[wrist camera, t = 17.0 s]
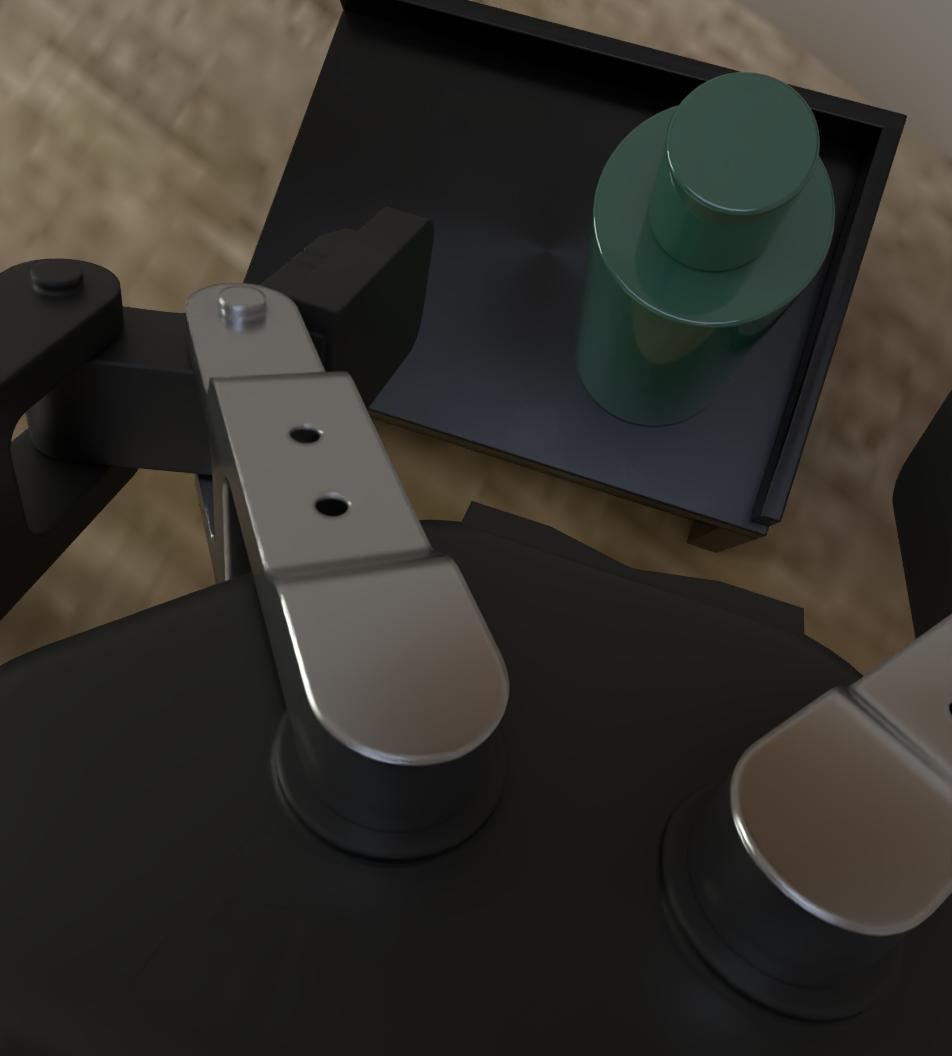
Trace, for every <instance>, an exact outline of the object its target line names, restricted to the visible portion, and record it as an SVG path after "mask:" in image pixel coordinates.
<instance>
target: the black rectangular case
mask: <svg viewBox="0 0 952 1056" xmlns="http://www.w3.org/2000/svg"><path fill="white" fill-rule="evenodd" d="M340 2H341V5H342V8H343V12H342V15H341V18H340V20H339V23H338V26H337V28H336V31H335V34H334V37H333V39H332V42H331V45H330V48H329V50H328V53H327V56H326V58H325V61H324V64H323V67H322V69H321V72H320V75H319V78H318V80H317V83H316V86H315V88H314V91H313V94H312V97H311V99H310V102H309V105H308V107H307V110H306V113H305V116H304V118H303V121H302V124H301V127H300V129H299V132H298V135H297V137H296V140H295V143H294V146H293V148H292V151H291V154H290V157H289V159H288V162H287V165H286V167H285V170H284V173H283V176H282V178H281V181H280V184H279V186H278V189H277V192H276V195H275V197H274V200H273V203H272V206H271V208H270V211H269V214H268V216H267V219H266V222H265V225H264V227H263V230H262V233H261V236H260V238H259V241H258V244H257V246H256V249H255V252H254V255H253V257H252V260H251V263H250V265H249V268H248V271H247V274H246V276H245V279H244V282H243V283H246V284H254V285H260V284H261V283H263V282H264V281H265V280H266V279H268V278H269V277H270V276H271V275H272V274H274V273H275V272H276V271H277V270H279V269H280V268H281V267H282V266H283V265H285V264H286V263H287V262H291V259H292V258H293V257H294V256H296V255H297V254H298V253H299V252H301V251H302V252H303V251H304V248H305V247H307V246H308V245H309V244H310V243H312V242H313V241H314V240H315V239H316V238H318V237H319V236H320V235H324V234H327V233H331V232H334V231H338V230H341V229H345V228H348V229H352V230H355V231H358V230H359V229H360V228H361V227H363V226H364V225H365V224H366V223H367V222H368V221H369V220H371V219H372V218H373V217H374V216H375V215H376V214H377V213H378V212H380V211H381V210H382V209H383V208H385V207H390V208H393V209H397V210H400V211H404V212H407V213H411V214H414V215H417V216H421V217H424V218H428V219H431V220H432V221H433V223H434V241H433V248H432V254H431V261H430V268H429V275H428V282H427V289H426V295H425V302H424V309H423V316H422V321H421V325H420V329H419V332H418V336H417V338H416V341H415V344H414V346H413V348H412V350H411V352H410V353H409V355H408V356H407V357H406V359H405V360H404V361H403V363H402V364H401V365H400V367H399V368H398V369H397V371H396V372H395V373H394V375H393V376H392V377H391V379H390V380H389V381H388V383H387V384H386V385H385V387H384V388H383V389H382V391H381V392H380V393H379V395H378V396H377V397H376V399H375V400H374V401H373V403H372V404H371V405H370V406H369V408H368V409H367V411H368V413H369V415H370V417H371V418H374V419H377V420H380V421H383V422H386V423H389V424H392V425H396V426H399V427H402V428H405V429H408V430H411V431H414V432H417V433H421V434H424V435H427V436H430V437H433V438H436V439H439V440H442V441H446V442H449V443H452V444H455V445H458V446H461V447H464V448H467V449H470V450H474V451H477V452H480V453H483V454H486V455H489V456H492V457H495V458H499V459H502V460H505V461H508V462H511V463H514V464H517V465H520V466H524V467H527V468H530V469H533V470H536V471H539V472H542V473H545V474H549V475H552V476H555V477H558V478H561V479H564V480H567V481H570V482H573V483H577V484H580V485H583V486H586V487H589V488H592V489H595V490H598V491H602V492H605V493H608V494H611V495H614V496H617V497H620V498H623V499H627V500H630V501H633V502H636V503H639V504H642V505H645V506H648V507H652V508H655V509H658V510H661V511H664V512H667V513H670V514H673V515H677V516H680V517H683V518H686V519H689V520H692V521H694V522H693V525H692V528H691V531H690V534H689V537H688V541H687V543H688V544H691V545H694V546H697V547H700V548H704V549H707V550H710V551H713V552H716V553H717V552H720V551H723V550H726V549H729V548H732V547H735V546H738V545H741V544H744V543H747V542H750V541H753V540H756V539H758V538H761V537H764V536H766V535H767V532H768V528H769V526H771V525H773V524H776V523H779V522H780V521H781V519H782V516H783V513H784V510H785V506H786V503H787V500H788V497H789V493H790V490H791V487H792V484H793V481H794V477H795V474H796V471H797V468H798V465H799V461H800V458H801V455H802V452H803V449H804V445H805V442H806V439H807V436H808V432H809V429H810V426H811V423H812V420H813V416H814V413H815V410H816V407H817V404H818V400H819V397H820V394H821V391H822V388H823V384H824V381H825V378H826V375H827V371H828V368H829V365H830V362H831V359H832V355H833V352H834V349H835V346H836V343H837V339H838V336H839V333H840V330H841V327H842V323H843V320H844V317H845V314H846V311H847V307H848V304H849V301H850V298H851V294H852V291H853V288H854V285H855V282H856V278H857V275H858V272H859V269H860V266H861V262H862V259H863V256H864V253H865V250H866V246H867V243H868V240H869V237H870V233H871V230H872V227H873V224H874V221H875V217H876V214H877V211H878V208H879V205H880V201H881V198H882V195H883V192H884V189H885V185H886V182H887V179H888V176H889V172H890V169H891V166H892V163H893V160H894V156H895V153H896V150H897V147H898V144H899V140H900V137H901V134H902V131H903V128H904V125H905V122H906V118H907V116H906V115H904V114H900V113H896V112H892V111H888V110H885V109H881V108H877V107H873V106H869V105H865V104H862V103H858V102H854V101H850V100H846V99H843V98H839V97H835V96H831V95H827V94H824V93H820V92H816V91H812V90H808V89H804V88H801V87H797V86H793V85H789V84H787V85H789V86H790V87H792V88H793V89H794V90H795V91H796V92H798V93H799V94H800V96H801V97H802V98H803V99H804V100H805V101H806V103H807V104H808V106H809V107H810V109H811V111H812V113H813V115H814V117H815V120H816V123H817V126H818V131H819V138H820V149H819V157H820V158H821V160H822V162H823V164H824V166H825V168H826V170H827V173H828V176H829V179H830V182H831V185H832V191H833V196H834V203H835V222H834V232H833V236H832V240H831V244H830V247H829V250H828V252H827V255H826V257H825V260H824V262H823V264H822V265H821V267H820V269H819V271H818V272H817V274H816V275H815V277H814V278H813V279H812V281H811V282H810V283H809V285H808V286H807V287H806V288H805V290H804V291H803V292H802V293H801V294H800V296H799V297H798V298H797V299H796V301H795V302H794V303H793V304H792V305H791V307H790V308H789V309H788V310H787V312H786V313H785V314H784V315H783V316H782V318H781V319H780V320H779V321H778V322H777V324H776V325H775V326H774V327H773V329H772V330H771V331H770V332H769V333H768V335H767V336H766V337H765V338H764V340H763V341H762V342H761V343H760V344H759V346H758V347H757V348H756V349H755V350H754V352H753V353H752V354H751V355H750V357H749V358H748V359H747V360H746V361H745V363H744V364H743V365H742V366H741V368H740V369H739V370H738V371H737V372H736V374H735V375H734V376H733V377H732V378H731V380H730V381H729V382H728V383H727V385H726V386H725V387H724V388H723V389H722V391H721V392H720V393H719V394H718V396H717V397H716V398H715V399H714V400H713V401H712V402H711V403H710V404H709V405H708V406H707V407H706V408H704V409H703V410H702V411H700V412H699V413H697V414H695V415H694V416H692V417H690V418H688V419H685V420H683V421H681V422H677V423H673V424H669V425H662V426H647V425H639V424H635V423H630V422H627V421H625V420H622V419H620V418H618V417H616V416H614V415H612V414H610V413H609V412H608V411H606V410H605V409H603V408H602V407H601V406H600V405H599V404H598V403H597V402H596V401H595V400H594V399H593V398H592V397H591V395H590V394H589V393H588V391H587V390H586V388H585V386H584V385H583V383H582V380H581V378H580V376H579V373H578V370H577V366H576V360H575V339H576V331H577V324H578V316H579V309H580V301H581V293H582V286H583V278H584V271H585V263H586V255H587V248H588V240H589V233H590V225H591V217H592V210H593V202H594V195H595V191H596V187H597V183H598V180H599V178H600V175H601V173H602V170H603V168H604V166H605V164H606V163H607V161H608V159H609V157H610V156H611V154H612V153H613V151H614V150H615V149H616V147H617V146H618V145H619V144H620V142H621V141H622V140H623V139H624V138H625V137H626V136H627V135H628V134H629V133H630V132H631V131H632V130H634V129H635V128H636V127H638V126H639V125H640V124H641V123H643V122H644V121H646V120H647V119H649V118H651V117H652V116H654V115H656V114H657V113H660V112H662V111H664V110H667V109H669V108H671V107H674V106H678V105H680V103H681V102H682V101H683V99H684V98H685V97H686V96H687V95H688V94H689V93H691V92H692V91H693V90H694V89H696V88H697V87H698V86H700V85H702V84H703V83H705V82H707V81H709V80H711V79H713V78H716V77H718V76H722V75H725V74H730V73H737V72H740V71H736V70H732V69H728V68H724V67H721V66H717V65H713V64H709V63H705V62H701V61H698V60H694V59H690V58H686V57H682V56H679V55H675V54H671V53H667V52H663V51H660V50H656V49H652V48H648V47H644V46H640V45H637V44H633V43H629V42H625V41H621V40H618V39H614V38H610V37H606V36H602V35H599V34H595V33H591V32H587V31H583V30H579V29H576V28H572V27H568V26H564V25H560V24H557V23H553V22H549V21H545V20H541V19H537V18H534V17H530V16H526V15H522V14H518V13H515V12H511V11H507V10H503V9H499V8H496V7H492V6H488V5H484V4H480V3H476V2H473V1H469V0H340Z"/></svg>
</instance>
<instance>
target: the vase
mask: <svg viewBox="0 0 952 1056" xmlns="http://www.w3.org/2000/svg"><path fill="white" fill-rule="evenodd" d="M819 149H820V138H819V131H818V126H817V123H816V120H815V117H814V115H813V113H812V111H811V109H810V107H809V106H808V104H807V103H806V101H805V100H804V99H803V98H802V97H801V96H800V94H799V93H798V92H796V91H795V90H794V89H793V88H792V87H790V86H789V85H787V84H786V83H784V82H782V81H780V80H778V79H776V78H774V77H770V76H767V75H764V74H759V73H751V72H737V73H730V74H725V75H722V76H718V77H716V78H713V79H711V80H709V81H707V82H705V83H703V84H702V85H700V86H698V87H697V88H696V89H694V90H693V91H692V92H691V93H689V94H688V95H687V96H686V97H685V98H684V99H683V101H682V102H681V103H680V105H678V106H674V107H671V108H669V109H667V110H664V111H662V112H660V113H657V114H656V115H654V116H652V117H651V118H649V119H647V120H646V121H644V122H643V123H641V124H640V125H639V126H638V127H636V128H635V129H634V130H632V131H631V132H630V133H629V134H628V135H627V136H626V137H625V138H624V139H623V140H622V141H621V142H620V144H619V145H618V146H617V147H616V149H615V150H614V151H613V153H612V154H611V156H610V157H609V159H608V161H607V163H606V164H605V166H604V168H603V170H602V173H601V175H600V178H599V180H598V183H597V187H596V191H595V195H594V202H593V210H592V217H591V225H590V233H589V240H588V248H587V255H586V263H585V271H584V278H583V286H582V293H581V301H580V309H579V316H578V324H577V331H576V339H575V360H576V366H577V370H578V373H579V376H580V378H581V380H582V383H583V385H584V386H585V388H586V390H587V391H588V393H589V394H590V395H591V397H592V398H593V399H594V400H595V401H596V402H597V403H598V404H599V405H600V406H601V407H602V408H603V409H605V410H606V411H608V412H609V413H610V414H612V415H614V416H616V417H618V418H620V419H622V420H625V421H627V422H630V423H635V424H639V425H647V426H662V425H669V424H673V423H677V422H681V421H683V420H685V419H688V418H690V417H692V416H694V415H695V414H697V413H699V412H700V411H702V410H703V409H704V408H706V407H707V406H708V405H709V404H710V403H711V402H712V401H713V400H714V399H715V398H716V397H717V396H718V394H719V393H720V392H721V391H722V389H723V388H724V387H725V386H726V385H727V383H728V382H729V381H730V380H731V378H732V377H733V376H734V375H735V374H736V372H737V371H738V370H739V369H740V368H741V366H742V365H743V364H744V363H745V361H746V360H747V359H748V358H749V357H750V355H751V354H752V353H753V352H754V350H755V349H756V348H757V347H758V346H759V344H760V343H761V342H762V341H763V340H764V338H765V337H766V336H767V335H768V333H769V332H770V331H771V330H772V329H773V327H774V326H775V325H776V324H777V322H778V321H779V320H780V319H781V318H782V316H783V315H784V314H785V313H786V312H787V310H788V309H789V308H790V307H791V305H792V304H793V303H794V302H795V301H796V299H797V298H798V297H799V296H800V294H801V293H802V292H803V291H804V290H805V288H806V287H807V286H808V285H809V283H810V282H811V281H812V279H813V278H814V277H815V275H816V274H817V272H818V271H819V269H820V267H821V265H822V264H823V262H824V260H825V257H826V255H827V252H828V250H829V247H830V244H831V240H832V236H833V232H834V222H835V203H834V196H833V191H832V185H831V182H830V179H829V176H828V173H827V170H826V168H825V166H824V164H823V162H822V160H821V158H820V157H819Z"/></svg>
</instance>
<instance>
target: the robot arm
mask: <svg viewBox="0 0 952 1056" xmlns="http://www.w3.org/2000/svg"><path fill="white" fill-rule="evenodd" d="M433 241H434V223H433V221H432V220H431V219H428V218H424V217H421V216H417V215H414V214H411V213H407V212H404V211H400V210H397V209H393V208H390V207H385V208H383V209H382V210H381V211H380V212H378V213H377V214H376V215H375V216H374V217H373V218H372V219H371V220H369V221H368V222H367V223H366V224H365V225H364V226H363V227H361V228H360V229H359V230H358V231H355V230H352V229H348V228H345V229H341V230H338V231H334V232H331V233H327V234H324V235H320V236H319V237H318V238H316V239H315V240H314V241H313V242H312V243H310V244H309V245H308V246H307V247H305V248H304V251H303V252H302V251H301V252H299V253H298V254H297V255H296V256H294V257H293V258H292V259H291V262H287V263H286V264H285V265H283V266H282V267H281V268H280V269H279V270H277V271H276V272H275V273H274V274H272V275H271V276H270V277H269V278H268V279H266V280H265V281H264V282H263V283H261V284H260V285H254V284H246V283H223V284H215V285H211V286H207V287H204V288H202V289H199V290H197V291H196V292H194V293H193V294H191V295H190V296H189V297H188V299H187V300H186V303H185V313H171V312H162V311H154V310H146V309H138V308H130V307H123V306H122V297H121V288H120V282H119V280H118V278H117V277H116V276H115V275H114V274H113V273H112V272H111V271H109V270H107V269H106V268H103V267H101V266H99V265H96V264H93V263H89V262H85V261H80V260H73V259H41V260H34V261H29V262H25V263H21V264H18V265H15V266H13V267H11V268H9V269H7V270H5V271H3V272H2V273H0V621H1V619H2V618H3V617H4V616H5V615H6V614H7V613H8V612H9V611H10V610H11V609H12V608H13V606H14V605H15V604H16V603H17V602H18V601H19V600H20V599H21V598H22V597H23V596H24V594H25V593H26V592H27V591H28V590H29V589H30V588H31V587H32V586H33V585H34V584H35V582H36V581H37V580H38V579H39V578H40V577H41V576H42V575H43V574H44V573H45V572H46V571H47V569H48V568H49V567H50V566H51V565H52V564H53V563H54V562H55V561H56V560H57V559H58V557H59V556H60V555H61V554H62V553H63V552H64V551H65V550H66V549H67V548H68V547H69V545H70V544H71V543H72V542H73V541H74V540H75V539H76V538H77V537H78V536H79V535H80V533H81V532H82V531H83V530H84V529H85V528H86V527H87V526H88V525H89V524H90V523H91V522H92V520H93V519H94V518H95V517H96V516H97V515H98V514H99V513H100V512H101V511H102V510H103V508H104V507H105V506H106V505H107V504H108V503H109V502H110V501H111V500H112V499H113V498H114V496H115V495H116V494H117V493H118V492H119V491H120V490H121V489H122V488H123V487H124V486H125V485H126V483H127V482H128V481H129V480H130V479H131V478H132V477H133V476H134V474H135V473H136V472H137V470H138V468H142V469H153V470H163V471H174V472H185V473H194V474H195V486H196V490H197V495H198V500H199V504H200V509H201V514H202V518H203V523H204V528H205V533H206V537H207V542H208V547H209V551H210V556H211V561H212V565H213V570H214V576H215V583H216V584H215V585H213V586H210V587H207V588H204V589H201V590H199V591H196V592H193V593H190V594H188V595H185V596H182V597H179V598H176V599H174V600H171V601H168V602H165V603H163V604H160V605H157V606H154V607H151V608H149V609H146V610H143V611H140V612H138V613H135V614H132V615H129V616H126V617H124V618H121V619H118V620H115V621H113V622H110V623H107V624H104V625H101V626H99V627H96V628H93V629H90V630H88V631H85V632H82V633H79V634H76V635H74V636H71V637H68V638H65V639H63V640H60V641H57V642H54V643H51V644H49V645H46V646H43V647H40V648H38V649H35V650H33V651H30V652H28V653H26V654H23V655H21V656H19V657H16V658H14V659H12V660H10V661H8V662H6V663H5V664H3V665H1V666H0V1056H952V390H951V392H950V393H949V395H948V396H947V398H946V399H945V401H944V402H943V404H942V406H941V407H940V409H939V410H938V412H937V413H936V415H935V416H934V418H933V420H932V421H931V423H930V424H929V426H928V427H927V429H926V430H925V432H924V434H923V435H922V437H921V438H920V440H919V441H918V443H917V444H916V446H915V448H914V449H913V451H912V452H911V454H910V455H909V457H908V458H907V460H906V462H905V463H904V465H903V467H902V469H901V471H900V473H899V475H898V478H897V481H896V484H895V487H894V491H893V509H894V515H895V520H896V526H897V532H898V538H899V544H900V550H901V556H902V561H903V567H904V573H905V579H906V585H907V591H908V597H909V602H910V608H911V614H912V620H913V626H914V632H915V638H916V640H914V641H913V642H911V643H910V644H909V645H907V646H906V647H904V648H903V649H901V650H900V651H899V652H897V653H896V654H894V655H893V656H892V657H890V658H889V659H887V660H886V661H885V662H883V663H882V664H880V665H879V666H878V667H876V668H875V669H873V670H872V671H871V672H869V673H868V674H866V675H865V676H863V675H862V674H861V673H859V672H858V671H857V670H856V669H855V668H854V667H852V666H851V665H850V664H849V663H848V662H846V661H845V660H843V659H842V658H841V657H839V656H838V655H837V654H835V653H834V652H833V651H831V650H830V649H828V648H826V647H825V646H823V645H822V644H820V643H818V642H817V641H815V640H813V639H812V638H810V637H808V636H806V635H804V609H803V608H800V607H797V606H794V605H791V604H788V603H785V602H782V601H779V600H776V599H773V598H770V597H766V596H763V595H760V594H757V593H754V592H751V591H748V590H745V589H742V588H739V587H736V586H732V585H729V584H726V583H723V582H720V581H714V580H707V579H700V578H693V577H686V576H679V575H672V574H665V573H658V572H651V571H644V570H638V569H634V568H631V567H628V566H626V565H623V564H621V563H619V562H618V561H616V560H614V559H612V558H610V557H608V556H606V555H604V554H602V553H600V552H598V551H596V550H595V549H593V548H591V547H589V546H587V545H585V544H583V543H581V542H579V541H577V540H575V539H573V538H572V537H570V536H568V535H566V534H564V533H562V532H560V531H558V530H556V529H554V528H552V527H550V526H547V525H544V524H541V523H538V522H535V521H532V520H529V519H526V518H523V517H519V516H516V515H513V514H510V513H507V512H504V511H501V510H498V509H495V508H492V507H489V506H485V505H482V504H479V503H476V502H473V501H472V502H471V504H470V506H469V508H468V510H467V512H466V514H465V516H464V518H463V520H462V522H456V521H444V520H418V518H417V515H416V513H415V511H414V509H413V507H412V505H411V503H410V501H409V498H408V496H407V494H406V492H405V490H404V488H403V486H402V483H401V481H400V479H399V477H398V475H397V473H396V471H395V469H394V466H393V464H392V462H391V460H390V458H389V456H388V454H387V452H386V449H385V447H384V445H383V443H382V441H381V439H380V437H379V435H378V432H377V430H376V428H375V426H374V424H373V422H372V420H371V417H370V415H369V413H368V411H367V409H368V408H369V406H370V405H371V404H372V403H373V401H374V400H375V399H376V397H377V396H378V395H379V393H380V392H381V391H382V389H383V388H384V387H385V385H386V384H387V383H388V381H389V380H390V379H391V377H392V376H393V375H394V373H395V372H396V371H397V369H398V368H399V367H400V365H401V364H402V363H403V361H404V360H405V359H406V357H407V356H408V355H409V353H410V352H411V350H412V348H413V346H414V344H415V341H416V338H417V336H418V332H419V329H420V325H421V321H422V316H423V309H424V302H425V295H426V289H427V282H428V275H429V268H430V261H431V254H432V248H433ZM25 412H26V416H27V421H28V426H29V428H28V429H26V430H25V431H24V432H23V433H22V434H21V435H19V436H18V437H17V438H16V439H15V440H14V441H12V442H11V439H12V434H13V431H14V429H15V426H16V424H17V422H18V421H19V419H20V418H21V416H22V415H23V414H24V413H25Z"/></svg>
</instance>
